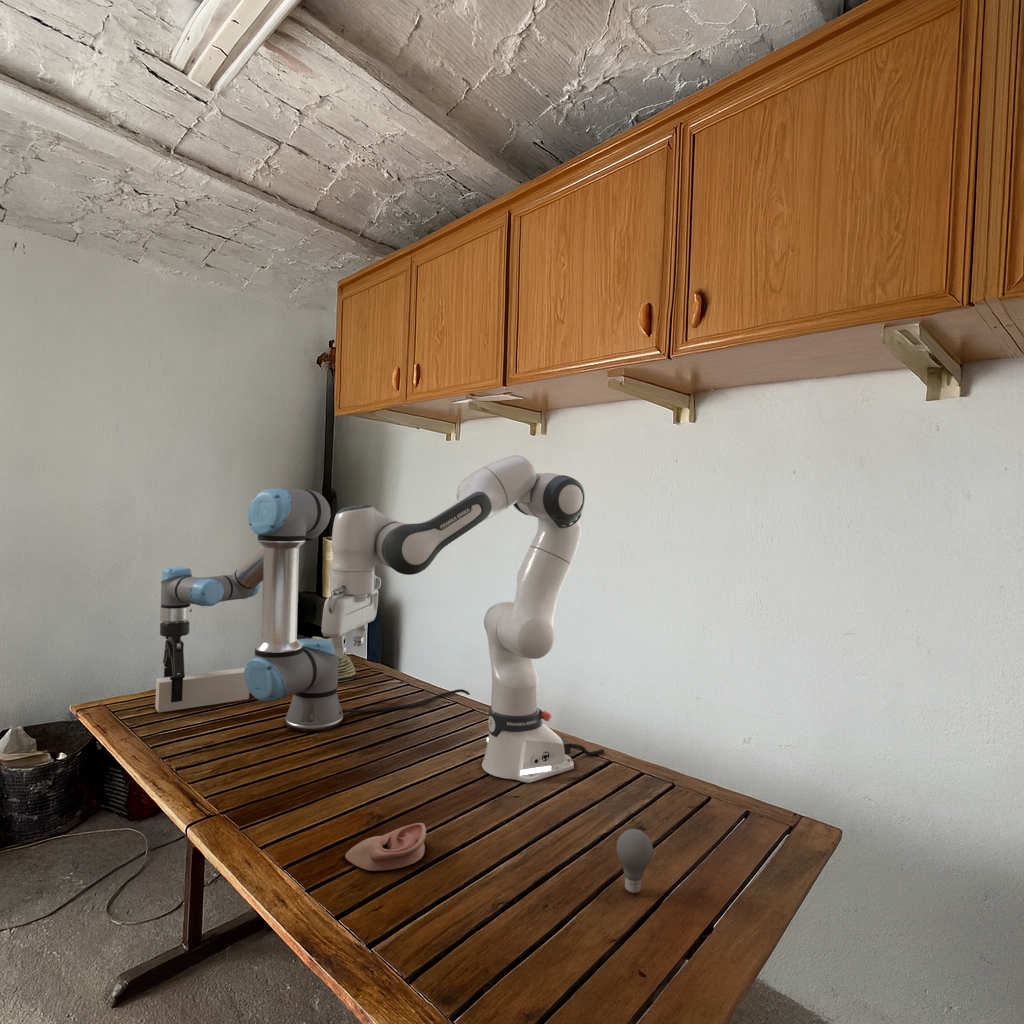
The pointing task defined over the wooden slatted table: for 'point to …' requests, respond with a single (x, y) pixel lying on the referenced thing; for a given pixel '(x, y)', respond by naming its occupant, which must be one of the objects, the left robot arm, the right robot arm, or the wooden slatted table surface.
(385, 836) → the anatomical model
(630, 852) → the light bulb
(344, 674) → the fossil
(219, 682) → the bar
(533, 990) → the wooden slatted table surface
